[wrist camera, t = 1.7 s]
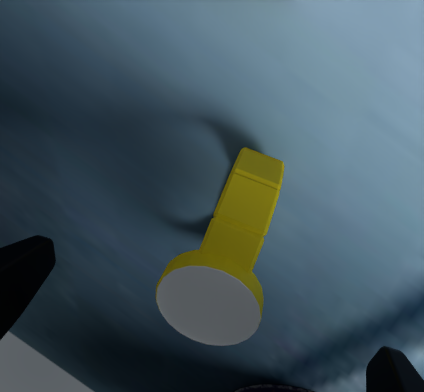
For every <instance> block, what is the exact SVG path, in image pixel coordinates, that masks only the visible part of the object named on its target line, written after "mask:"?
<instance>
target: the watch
mask: <svg viewBox="0 0 424 392" xmlns="http://www.w3.org/2000/svg"><path fill="white" fill-rule="evenodd" d="M283 172H284V164H283V161H280V160H277V159H275V158H272V157H270V156H267V155H264V154H262V153H259V152H257V151H254V150H251V149H249V148H246V147H244V148H242V149H241V150H240V153H239V155H238V157H237V159H236V161H235V164H234V166H233V168H232V171H231V173H230V175H229V178H228V180H227V182H226V185H225V187H224V190H223V192H222V194H221V197H220V199H219V202H218V204H217V207H216V209H215V211H214V214H213V216H214V218H212V219H211V221H210V224H209V226H208V229H207V231H206V234H205V236H204V239H203V242H202V244H201V247H200V249H199V250H192V251H189V252H185V253H182V254H180V255H178V256H177V257H175V258H174V259H173V260H171V261H170V262H169V264H168V265H167V267H166V269H165V271H164V272H163V274H162V276H161V278H160V280H159V281H158V283H157V285H156V301H157V305H158V308H159V310H160V312H161V313H162V315H163V316H164V318H165V319H166V321H167V322H168V323H169V324H170V325H171V326H172V327H174V328H175V329H176V330H177V331H178V332H179V333H181V334H183V335H185V336H187V337H189V338H190V339H192V340H195V341H198V342H201V343H204V344H208V345H218V346H226V345H233V344H238V343H240V342H242V341H244V340H247V339H249V338H250V337H251V336H252V335H253V334H254V332H255V331H256V330H257V328H258V326H259V323H260V320H261V317H262V309H263V293H262V287H261V285H260V283H259V281H258V280H257V278H256V276H255V274H254V273H253V272H252V270H253V267H254V265H255V262H256V260H257V257H258V255H259V252H260V250H261V247H262V245H263V242H264V238H263V237H264V236H265V235H266V234H267V231H268V228H269V225H270V222H271V219H272V215H273V212H274V209H275V206H276V203H277V200H278V196H279V191H280V189H281V184H282V178H283Z"/></svg>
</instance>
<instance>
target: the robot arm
mask: <svg viewBox="0 0 424 392" xmlns="http://www.w3.org/2000/svg"><path fill="white" fill-rule="evenodd" d="M55 261H56V258H55V251H54V244H53V241H52V240H51V239H50V238H47V237H44V236H40V235H36V236H33V237H30V238H27V239H24V240H21V241H19V242H16V243H13V244H10V245H8V246H5V247H2V248H0V340H1V339H2V338H3V336H4V335H5V334H6V333H7V332H8V330H9V329H10V328H11V327H12V326H13V324H14V323H15V322H16V321H17V319H18V318H19V317H20V316H21V314H22V313H23V312H24V310H25V309H26V307H27V306H28V304H29V303H30V301H31V300H32V299H33V297H34V296H35V294H36V293H37V291H38V290H39V288H40V287H41V285H42V284H43V282H44V281H45V279H46V278H47V277H48V275H49V274H50V272H51V271H52V269H53V267H54V265H55ZM366 392H424V380H423V379H422V377H421V376H420V375H419V373H418V372H417V371H416V369H415V368H414V367H413V365H412V364H411V363H410V361H409V360H408V359H407V357H406V356H405V355H404V354H403V353H402V352H401V351H399V350H396V349H393V348H390V347H387V346H383V347H381V348H380V349H379V350H378V352H377V353H376V354H375V356H374V357H373V358H372V359H371V361H370V362H369V363H368V366H367V369H366Z"/></svg>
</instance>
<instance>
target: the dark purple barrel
mask: <svg viewBox="0 0 424 392" xmlns="http://www.w3.org/2000/svg"><path fill="white" fill-rule="evenodd" d="M234 392H313V391H309V390H305V389H301V388H297V387H291V386H285V385H273V384H266V385H254V386H248V387H244V388H240V389H238V390H236V391H234Z"/></svg>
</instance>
